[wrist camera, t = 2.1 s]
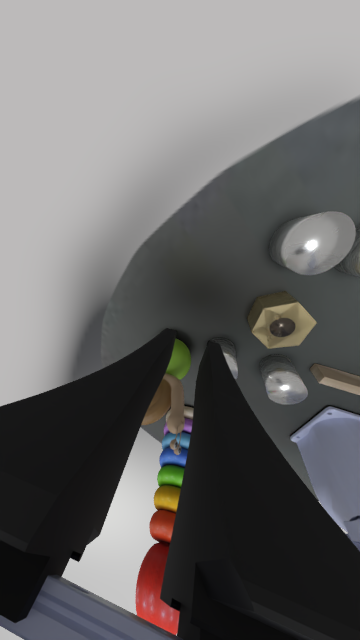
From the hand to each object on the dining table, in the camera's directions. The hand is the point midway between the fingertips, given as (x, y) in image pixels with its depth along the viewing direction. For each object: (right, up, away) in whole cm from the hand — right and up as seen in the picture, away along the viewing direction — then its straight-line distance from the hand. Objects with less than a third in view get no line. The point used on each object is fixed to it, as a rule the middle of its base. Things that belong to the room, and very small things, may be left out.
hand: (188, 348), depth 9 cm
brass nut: (+9, +2, +7) cm, 12 cm away
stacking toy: (+1, -17, +20) cm, 26 cm away
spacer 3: (+9, +8, +4) cm, 13 cm away
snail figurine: (-1, -2, +12) cm, 13 cm away
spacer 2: (+11, -4, +10) cm, 16 cm away
